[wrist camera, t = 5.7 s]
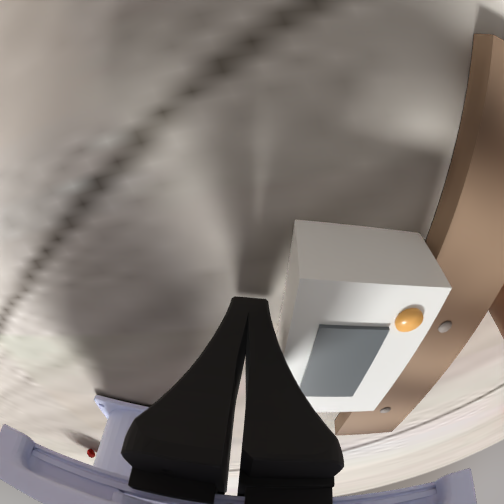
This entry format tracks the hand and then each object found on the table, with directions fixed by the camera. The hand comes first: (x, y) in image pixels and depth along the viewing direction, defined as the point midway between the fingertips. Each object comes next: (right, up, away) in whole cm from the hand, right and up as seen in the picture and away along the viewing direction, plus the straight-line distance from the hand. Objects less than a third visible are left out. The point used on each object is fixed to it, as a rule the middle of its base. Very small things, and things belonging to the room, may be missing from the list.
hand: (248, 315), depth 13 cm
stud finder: (+4, 0, +1) cm, 4 cm away
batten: (+9, 0, +1) cm, 9 cm away
